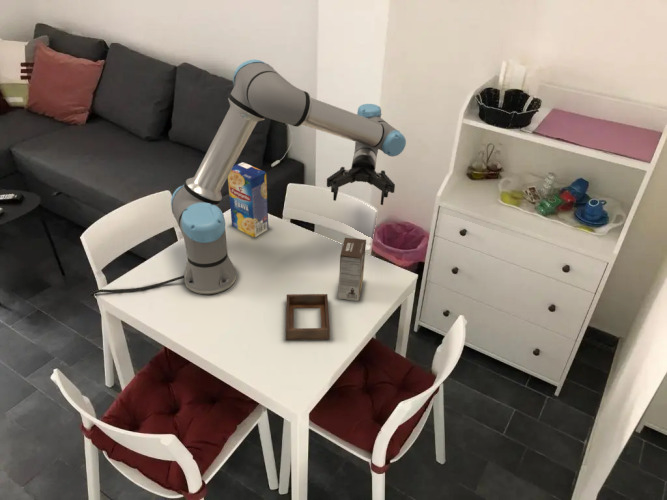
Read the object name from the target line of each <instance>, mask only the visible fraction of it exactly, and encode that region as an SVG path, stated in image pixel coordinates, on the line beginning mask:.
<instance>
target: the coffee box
mask: <svg viewBox="0 0 667 500" xmlns="http://www.w3.org/2000/svg"><path fill="white" fill-rule="evenodd" d="M366 247H367V239H365V238H364V239H363V238H355V237H354V238H353V237H345V238H344V239H343V243H342V247H341V251H340V255H339V256H340V257H339V272H338V273H339V276H338V293H337V294H338V295H337V298H338V299H339V300H340V299H341V300H350V301H355V302H359V300H360V296H361V293H362V287H363V282H364V270H365V260H366V259H365V258H366Z"/></svg>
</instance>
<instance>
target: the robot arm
mask: <svg viewBox="0 0 667 500" xmlns="http://www.w3.org/2000/svg"><path fill="white" fill-rule="evenodd" d="M233 73H234V74H233V77H232V85H233V88H232V90H231V92H230V94H229V96H228V98H227V100H228V103H229V109H228V110H227V112H226V114H225V116H224V118H223V119H222V122H221V124H220V125H219V128H218V130H217V131H216V133H215V136H214V137H213V139H212V141H211V143H210V145H209V147H208V149H207V151H206V153H205V155H204V157H203V158H202V161H201V163H200V165H199V167H198V169H197V171H196V172H195V175H194V176H193V177H189V178H187V179H186V180H185V182H184V183H183V184H182V185H180V186H178V187H177V188H176V189H175V190H174V192H173V193H172V196H171V198H170V207H171V212H172V215H173V217H174V218H175V220H176V224H177V225H178V227H179V230H180V232H181V234H182V237H183V241H184V244H185V245H184V246H185V253H186V259H187V261H186V265H185V268H184V272H183V275H181V276H178V277H174V278H171V279H168V280H165V281H162V282H158V283H154V284H151V285H146V286H145V285H144V286H140V287H133V288H132V287H131V288H119V289H118V288H117V289H107V288H106V289H105V288H104V289H103V288H102V289H101V288H100V289H96V290H94V291H92V292H91V293H90V294H89V297H93V296H94V295H96V294H99V293H125V292H135V291H143V290H149V289H153V288H156V287H159V286H160V287H161V286H163V285H167V284H169V283H174V282H175V281H179V280H182V279H183V281H184V285H185V287H186V288H187V289H188V290H189V291H190V292H193V293H195V294H199V295H215V294H219V293H222V292H224V291H226V290H228V289H230V288H231V287H232V286H233V285H234V283H235V282H236V278H237V272H236V267H235V266H234V264H233V262H232V260H231V258H230V256H229V255H228V254H229V252H228V243H227V232H226V218H225V216H224V215H225V214H224V213H223V211H222V210H221V208H219V205H220V204H221V201H222V199H223V195H222V192H221V191H222V189H223V187H224V185H225V183H226V181H227V180H228V175H229V174H230V172H231V170H232V168H233V166H235V165H236V162H237V161H238V159H239V157H240V156H241V153H242V151H243V149H244V148H245V146H246V144H247V142H248V141H249V138H250V136H251V135H252V132H253V130H254V129H255V127H256V126H257V123H258V122H262V121H265V119H268V120H269V119H270V120H272V121H276V122H279V123H283V124H286V125H290V126H292V127H296V128H300V127H301V126H306V127H308V128H311V129H315V130H318V131H321V132H324V133H326V134H330V135H333V136H336V137H340V138H342V139H346V140H349V141H352V142H354V152H353V154H354V155H353V158H352V163H351V168H350V169H346V167H345V166H341V167H340V169H339V170H337V171H336V172H334V173H333V174H331V175H330V176H329V177H327V178H326V187H327V188H330V193H333V195H332V196H333V199H332V200H333V201H334V202H336V201H337V197H338V193H339V188H340V187H343V186H345V185H347V184H353V183H355V182H357V183H358V182H362V183H367V184H369V185H370V186H374V187H376V188H377V189H378V190H379V191H381V195H380V196H381V197H380V206H384V202H385V201H384V199H385V198H388V197H389V193H391V194H394V193H395V190H396V189H395V188H396V184H395V182H393V181H392V180H391V178H390V177H389V176H388V175H387V174H386V171H385V170H380V172H377V171H376V168H377V167H376V166H377V159H378V153H379V151H381V152H383V154H384V155H387V156H388V157H397V156H399V155H400V154H401V153H402V152H403V151H404V149H405V147H406V145H407V140H406V137H405V136H404V134H402V133H401V131H400V130H398V129H397V128H395V127H394V126H392V125H391V124H389V123H388V122H387V121H385V120H384V119H383V118H382V108H381V106H379V105H377V104H375V103H364V104H361V105H359V106H358V108H357V113H354V112H352V111H349V110H346V109H343V108H341V107H339V106H335V105H332V104H330V103H327V102H324V101H321V100H319V99H316V98H313V97H312V96H311V95H310V93H309V92H308V91H305V90H302V89H300V88H299V87H297V86H295V85H293V84H292V83H291V82H290V81H288V80H287V79H286V78H285V77H283V76H282V74H279V73H278V72H277V70H275V68H274V67H273V66H272V65H270V64H269V63H267V62H265V61H262V60H260V59H249V60H245V61H243V62H242V63H240V64H239V65H238V66H237V67H236V68H235V70H234V72H233Z"/></svg>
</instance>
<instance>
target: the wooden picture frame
mask: <svg viewBox="0 0 667 500" xmlns="http://www.w3.org/2000/svg"><path fill="white" fill-rule="evenodd" d="M285 303H286V304H285V305H286V306H285V307H286V308H285V309H286V310H285V311H286V312H285V340H286V341H301V340H302V341H303V340H304V341H305V340H306V341H308V340H309V341H311V340H317V341H318V340H330V337H331V336H330V335H331V325H330V313H329V312H330V311H329V299H328V293H306V294H305V293H299V294H297V293H296V294H295V293H292V294H290V293H288V294H286V301H285ZM295 309H319V310H320V325H321V326H320V327H307V328H303V327H301V328H299V327H298V328H296V327H295V325H294V324H295V319H294V318H295ZM294 327H295V328H294Z"/></svg>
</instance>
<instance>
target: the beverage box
mask: <svg viewBox="0 0 667 500" xmlns="http://www.w3.org/2000/svg"><path fill="white" fill-rule="evenodd" d="M267 182H268V181H267V171H265V170H262V169H260V168H258V167H255V166H253V165H251V164H248V163H247V162H243V161H242V162H239V163H237V164H234V166H233V168H232V170H231V172H230V174H229V175H228V177H227V185H228V196H229V208H230V209H229V210H230V217H231V218H230V220H231V227H233V228H235V229H237V230H239V231H240V232H243V233H244V234H247V235H248V236H250V237H252V238H256V237H258V236H260V235H261V234H263V233H264V232H266V231H268V230H269V211H268V208H269V207H268V185H267V184H268V183H267Z"/></svg>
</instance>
